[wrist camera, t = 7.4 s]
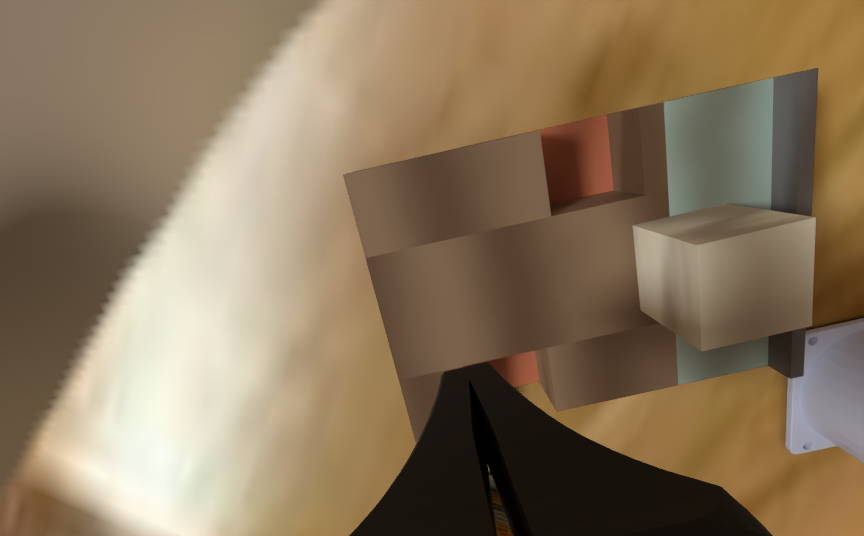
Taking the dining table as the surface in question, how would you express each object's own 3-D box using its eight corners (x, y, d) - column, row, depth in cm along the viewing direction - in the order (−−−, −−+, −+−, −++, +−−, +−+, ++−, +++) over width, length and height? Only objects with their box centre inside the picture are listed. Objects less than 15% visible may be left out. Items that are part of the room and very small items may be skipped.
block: (724, 203, 17) (815, 217, 13) (727, 289, 18) (812, 326, 14) (632, 225, 17) (696, 245, 13) (640, 310, 18) (701, 351, 14)
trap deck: (730, 86, 19) (818, 67, 15) (732, 335, 22) (803, 375, 18) (353, 172, 19) (337, 176, 15) (415, 405, 22) (416, 460, 18)
